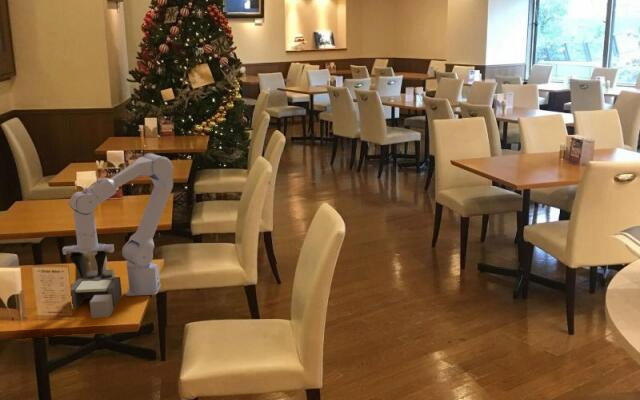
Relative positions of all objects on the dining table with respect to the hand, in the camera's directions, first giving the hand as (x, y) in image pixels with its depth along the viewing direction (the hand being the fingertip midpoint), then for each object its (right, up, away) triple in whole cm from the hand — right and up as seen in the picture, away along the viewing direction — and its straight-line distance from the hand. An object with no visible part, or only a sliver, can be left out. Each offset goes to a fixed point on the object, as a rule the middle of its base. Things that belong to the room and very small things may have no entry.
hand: (91, 275), depth 197 cm
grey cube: (+5, -11, -4) cm, 12 cm away
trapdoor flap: (0, -5, +5) cm, 7 cm away
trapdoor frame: (0, -9, +4) cm, 10 cm away
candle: (-6, -3, +25) cm, 26 cm away
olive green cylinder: (-9, -5, +19) cm, 21 cm away
